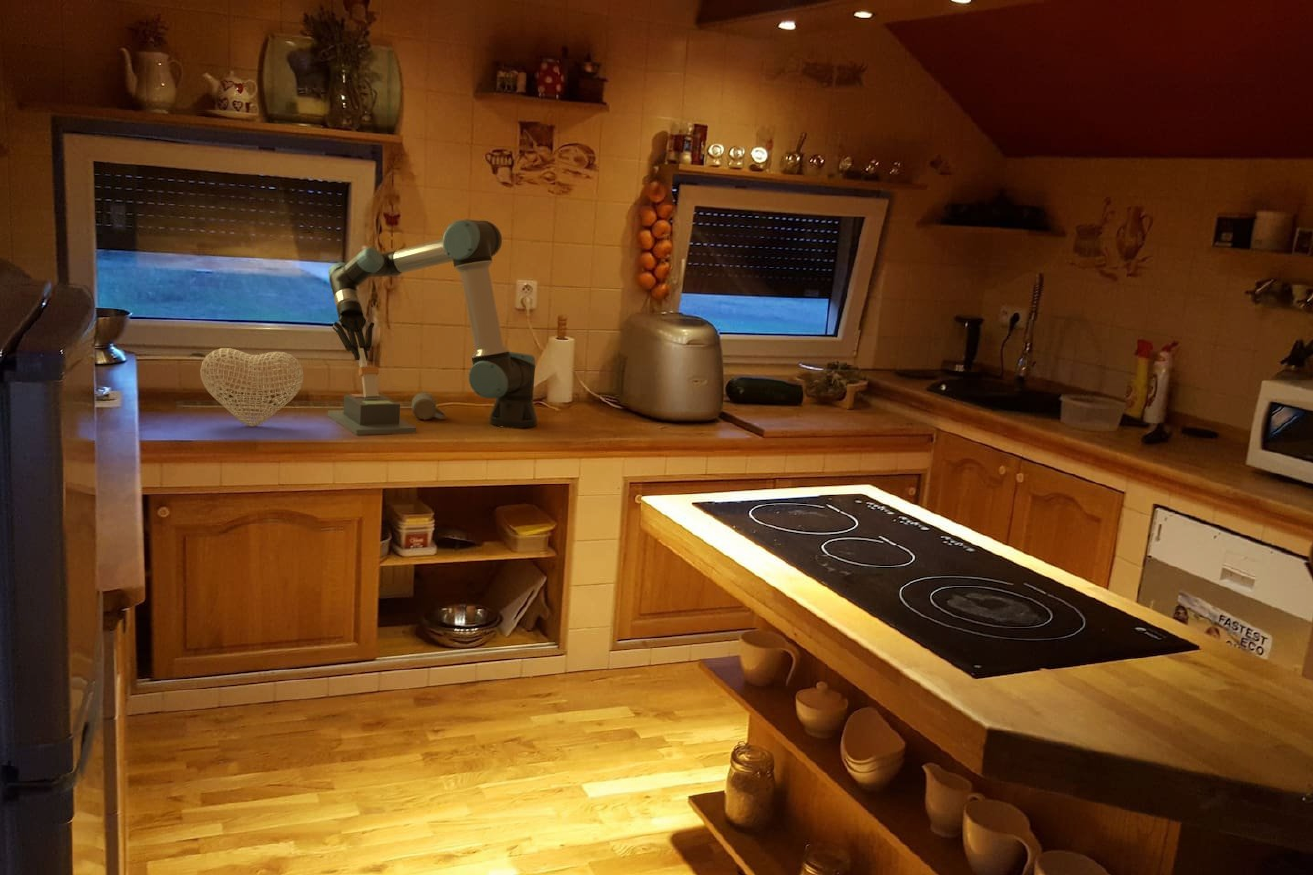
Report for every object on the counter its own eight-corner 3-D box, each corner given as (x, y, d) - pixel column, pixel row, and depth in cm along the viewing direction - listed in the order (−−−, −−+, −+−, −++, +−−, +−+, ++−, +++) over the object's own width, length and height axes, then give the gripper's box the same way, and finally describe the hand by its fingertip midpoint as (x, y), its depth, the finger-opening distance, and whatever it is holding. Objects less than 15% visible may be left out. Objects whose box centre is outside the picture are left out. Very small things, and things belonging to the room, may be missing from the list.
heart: (193, 429, 306) (193, 350, 301) (209, 418, 321) (209, 343, 316) (296, 435, 309) (297, 357, 305) (307, 424, 324) (308, 350, 320)
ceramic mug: (412, 420, 342) (413, 396, 340) (410, 415, 350) (412, 391, 348) (446, 422, 345) (448, 398, 343) (444, 417, 353) (445, 393, 351)
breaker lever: (361, 398, 331) (358, 369, 332) (378, 398, 333) (375, 369, 335) (364, 396, 328) (361, 367, 330) (381, 395, 331) (378, 367, 332)
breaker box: (327, 415, 339) (328, 390, 337) (384, 413, 349) (384, 389, 347) (356, 435, 316) (357, 408, 314) (415, 432, 326) (416, 406, 324)
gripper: (366, 314, 351) (381, 374, 341) (325, 313, 344) (340, 375, 334) (371, 300, 345) (388, 360, 335) (330, 298, 338) (345, 360, 328)
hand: (364, 367), depth 335 cm, fingers closed
